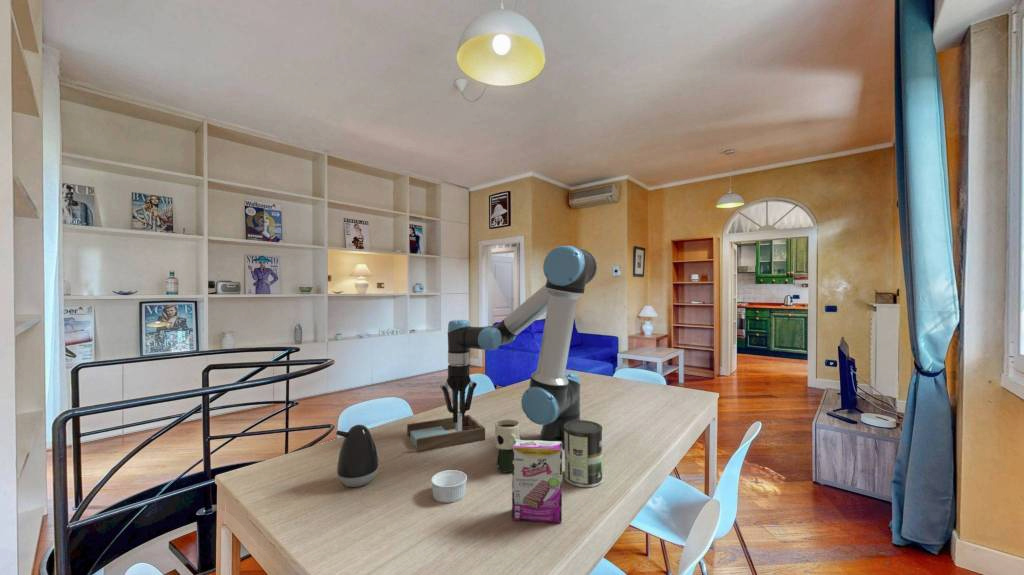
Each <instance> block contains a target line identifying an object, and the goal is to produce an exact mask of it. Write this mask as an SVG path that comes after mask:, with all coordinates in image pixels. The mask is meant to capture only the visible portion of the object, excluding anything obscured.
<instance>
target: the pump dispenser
mask: <svg viewBox="0 0 1024 575" xmlns="http://www.w3.org/2000/svg"><path fill="white" fill-rule="evenodd" d="M335 434H336V435H337V436H340V437H341V438H344V439H343V441H342V443H341V447H340V450H339V454H338V460H337V466H336V467H337V468H336V473H337V475H338V478H339V480H340V481H341V483H342V484H343V485H345V486H346V487H350V488H358V487H362V486H364V485H367V484H369V482H371V481H372V480H373V479H374V478H375V475H376V473H377V470H378V468H379V457H378V451H377V447H376V443H375V440H374V438H373V435H372V433H371V431H370V429H369V428H368V427H367V426H365V425H364V424H355V425H353V426H351V427H350V428H349V430H348V431H344V430H337V431H336V433H335Z"/></svg>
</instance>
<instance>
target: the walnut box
mask: <svg viewBox="0 0 1024 575" xmlns="http://www.w3.org/2000/svg"><path fill="white" fill-rule="evenodd" d="M406 426H407V427H406V428H407V429H406V430H407V431H406V433H407V437H408V436H409V437H410V431H414V430H420V429H426V428H433V427H439V426H442V427H443V428H444V429H445V430H446V431H451V430H456V429H455V428H456V423H454V422H453V416H451V417H447V418H440V419H433V420H425V421H420V422H413V423H407V424H406ZM467 426H468V427H469V428H470V429H469V428H468V427H467ZM462 427H463V428H468V429H466V430H462V431H459V432H457V431H456V432H447V433H448V434H442V435H436V436H430V437H424V438H418V439H417V448H416V452H417V453H422V452H429V451H433V450H438V449H444V448H449V447H455V446H460V445H465V444H466V445H467V444H470V443H477V442H482V441H486V427H485V426H483V425H482V424H480V423H479V422H478V420H476V419H475V418H474V417H472V416H471V415H470V414H466V415H465V420H464V422H462ZM450 429H451V430H450Z"/></svg>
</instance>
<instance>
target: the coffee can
mask: <svg viewBox="0 0 1024 575" xmlns="http://www.w3.org/2000/svg"><path fill="white" fill-rule="evenodd" d="M564 440H565V449H564V479H565V481H566V482H567V483H569V484H570V485H572V486H576V487H578V486H579V488H595V487H598V486H599V485H601V484H602V483H603V480H604V479H603V426H602V424H600V423H598V422H595V421H591V420H584V419H583V420H582V419H580V420H575V421H570V422H567V423H565V424H564Z"/></svg>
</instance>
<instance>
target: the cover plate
mask: <svg viewBox="0 0 1024 575" xmlns="http://www.w3.org/2000/svg"><path fill="white" fill-rule="evenodd" d="M448 433H449V432H448V431H447V430H445V429H444V428H443V427H442V426H439V427H433V428H426V429H420V430H414V431H410V436H409V437H410V438H411V439H410V438H409V439H410V440H411V441H412V443H413V445H414V446H415V448H416V449H417V439H418V438H424V437H430V436H436V435H442V434H448Z"/></svg>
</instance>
